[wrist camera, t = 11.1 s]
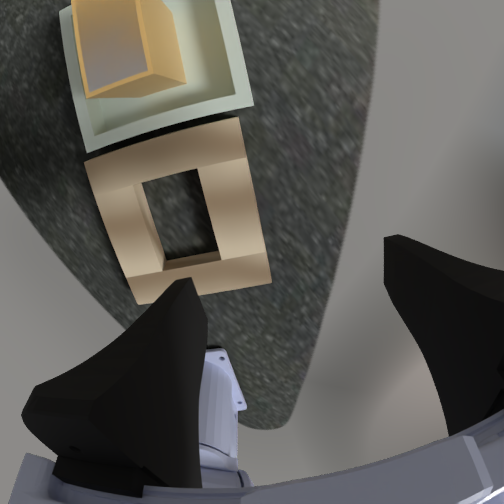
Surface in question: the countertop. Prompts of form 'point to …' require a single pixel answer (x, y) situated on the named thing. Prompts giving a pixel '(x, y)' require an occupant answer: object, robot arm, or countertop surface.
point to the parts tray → (174, 99)
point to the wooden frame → (217, 199)
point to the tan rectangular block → (126, 47)
